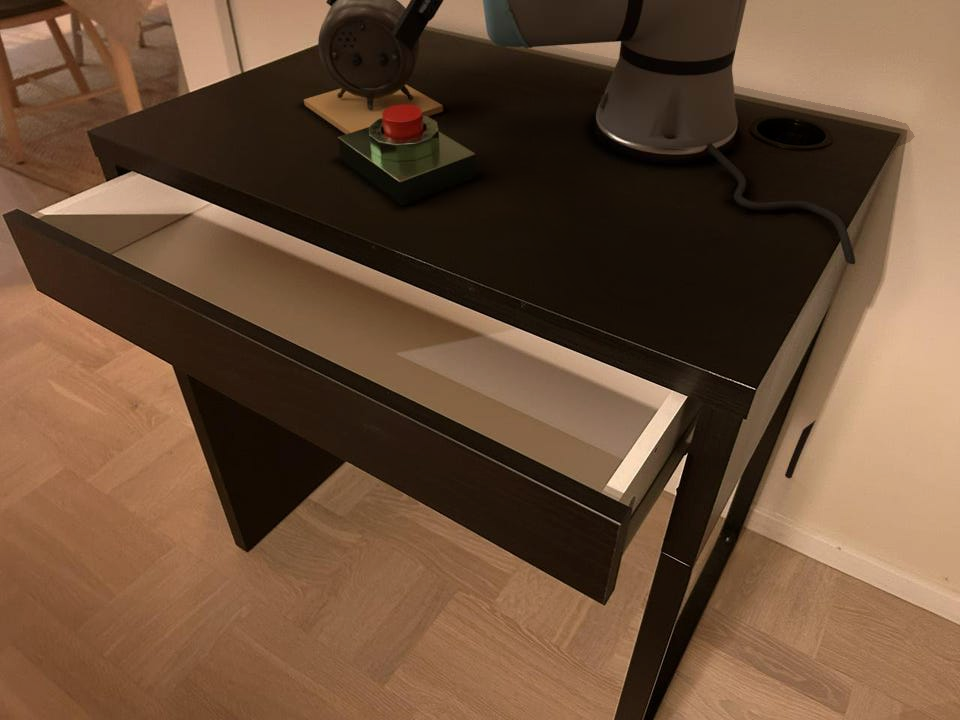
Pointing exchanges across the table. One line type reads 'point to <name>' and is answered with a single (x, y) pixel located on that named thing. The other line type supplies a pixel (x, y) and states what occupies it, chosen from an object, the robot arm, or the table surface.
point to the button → (402, 121)
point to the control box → (407, 161)
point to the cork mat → (365, 108)
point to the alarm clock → (366, 49)
